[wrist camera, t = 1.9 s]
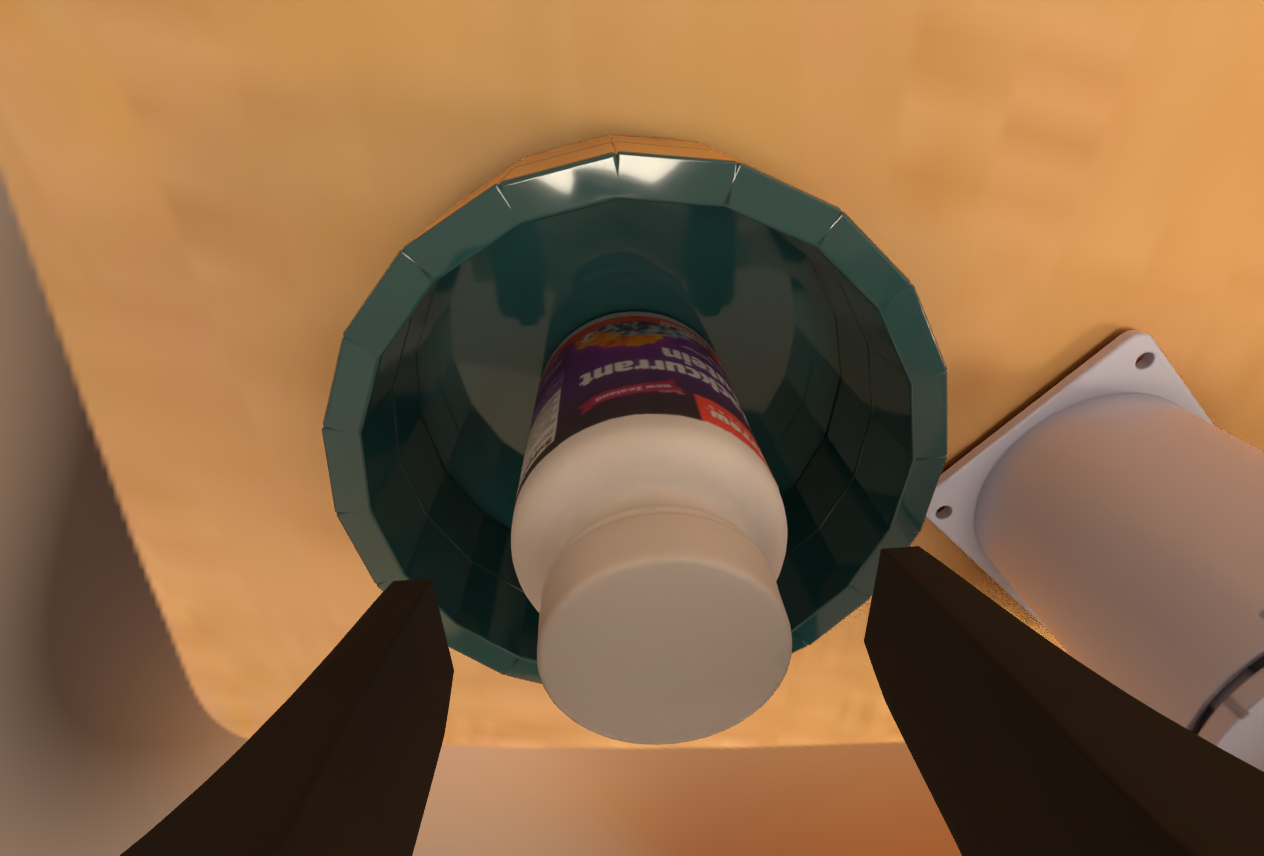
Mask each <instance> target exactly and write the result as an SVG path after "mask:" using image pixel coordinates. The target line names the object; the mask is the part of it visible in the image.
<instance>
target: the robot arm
mask: <svg viewBox="0 0 1264 856" xmlns="http://www.w3.org/2000/svg"><path fill="white" fill-rule="evenodd" d="M1142 354H1143V357H1142V359H1141V360H1140V361H1139V362H1137V363H1136V360H1137V359H1138V358H1139V356H1140V355H1142ZM942 506H946V507H945V508H944V509H943V510H941V511H939V512H936V511H937V510H938V509H939V508H940V507H942ZM926 517H927V518H928V519H929V520H930V521H931V522H932V523H933V524H934V525H935V526H936V527H937V528H938V529H939V530H941V531H942V532H943V533H944V534H945V535H946V536H947V537H948V538H949V539H950V540H951V541H952V542H953V543H954V544H956V545H957V546H958V547H959V548H960V549H961V550H962V551H963V552H964V553H965V554H966V555H967V556H968V557H970V558H971V559H972V560H973V561H974V562H975V563H976V564H977V565H978V566H979V567H980V568H981V569H982V570H984V571H985V572H986V573H987V574H988V575H989V576H990V577H991V578H992V579H993V580H994V581H995V582H996V583H998V584H999V585H1000V586H1001V587H1002V588H1003V589H1004V590H1005V591H1006V592H1007V593H1008V594H1009V595H1010V596H1011V597H1013V598H1014V599H1015V600H1016V601H1017V602H1018V603H1019V604H1020V605H1021V606H1022V607H1023V608H1024V609H1025V610H1027V611H1028V612H1029V613H1030V614H1031V615H1032V616H1033V617H1034V618H1035V619H1036V620H1037V621H1038V622H1039V623H1041V624H1042V625H1043V626H1044V627H1045V628H1046V629H1047V630H1048V631H1049V632H1050V633H1051V634H1052V635H1053V636H1054V637H1055V638H1056V639H1057V640H1058V641H1059V643H1060V644H1061V645H1062V646H1063V647H1064V649H1065V650H1066V651H1067V652H1068V653H1069V654H1070V655H1069V654H1067V653H1066V652H1064V651H1063V650H1061V649H1060V648H1058V647H1057V646H1055V645H1054V644H1052V643H1051V642H1050V641H1048V640H1047V639H1045V638H1044V637H1043V636H1041V635H1040V634H1038V633H1037V632H1035V631H1034V630H1033V629H1031V628H1030V627H1028V626H1027V625H1026V624H1024V623H1023V622H1021V621H1020V620H1019V619H1017V618H1016V617H1014V616H1013V615H1012V614H1010V613H1009V612H1008V611H1006V610H1005V609H1004V608H1002V607H1001V606H999V605H998V604H997V603H995V602H994V601H993V600H991V599H990V598H989V597H987V596H986V595H985V594H983V593H982V592H981V591H979V590H978V589H976V588H975V587H974V586H972V585H971V584H970V583H968V582H967V581H966V580H964V579H963V578H962V577H960V576H959V575H958V574H956V573H955V572H954V571H952V570H951V569H950V568H948V567H947V566H945V565H944V564H943V563H941V562H940V561H939V560H937V559H936V558H934V557H933V556H932V555H930V554H929V553H927V552H926V551H924V550H923V549H922V548H920V547H919V546H915V547H900V548H885V549H881V552H880V557H879V562H878V568H877V573H876V579H875V584H874V590H873V595H872V600H871V606H870V611H869V617H868V622H867V627H866V633H865V638H864V643H865V645H866V648H867V651H868V654H869V657H870V660H871V663H872V666H873V669H874V672H875V675H876V677H877V680H878V683H879V685H880V688H881V691H882V694H883V696H884V699H885V701H886V704H887V706H888V708H889V710H890V712H891V714H892V716H893V718H894V720H895V722H896V724H897V726H898V728H899V730H900V732H901V734H902V736H903V738H904V740H905V742H906V744H907V746H908V748H909V750H910V752H911V754H912V756H913V758H914V760H915V762H916V764H917V766H918V768H919V770H920V772H921V774H922V776H923V778H924V780H925V782H926V784H927V786H928V788H929V790H930V792H931V794H932V796H933V798H934V800H935V802H936V804H937V806H938V808H939V810H940V812H941V814H942V816H943V818H944V820H945V822H946V824H947V826H948V828H949V830H950V832H951V834H952V836H953V838H954V839H955V842H956V844H957V846H958V848H959V850H960V852H961V855H962V856H1264V452H1263V451H1261V450H1259V449H1257V448H1255V447H1254V446H1252V445H1250V444H1248V443H1246V442H1244V441H1242V440H1241V439H1239V438H1237V437H1235V436H1233V435H1231V434H1229V433H1228V432H1226V431H1224V430H1222V429H1220V428H1218V427H1216V426H1215V425H1214V424H1213V423H1212V421H1211V420H1210V418H1209V417H1208V416H1207V414H1206V413H1205V411H1204V410H1203V408H1202V407H1201V406H1200V404H1199V403H1198V401H1197V400H1196V399H1195V397H1194V396H1193V394H1192V393H1191V392H1190V390H1189V389H1188V387H1187V386H1186V384H1185V383H1184V382H1183V380H1182V379H1181V377H1180V376H1179V375H1178V373H1177V372H1176V370H1175V369H1174V368H1173V366H1172V365H1171V363H1170V362H1169V360H1168V359H1167V358H1166V356H1165V355H1164V353H1163V352H1162V351H1161V349H1160V348H1159V346H1158V345H1157V343H1156V342H1155V341H1154V339H1153V338H1152V337H1151V336H1150V335H1149V334H1147V333H1145V332H1142V331H1140V330H1134V329H1133V330H1129V331H1126V332H1124V333H1123V334H1121V335H1119V336H1118V337H1117V338H1115V339H1114V340H1113V341H1112V342H1110V343H1109V344H1108V345H1106V346H1105V347H1104V348H1103V349H1101V350H1100V351H1099V352H1097V353H1096V354H1095V355H1094V356H1092V357H1091V358H1090V359H1088V360H1087V361H1086V362H1085V363H1083V364H1082V365H1081V366H1080V367H1078V368H1077V369H1076V370H1074V371H1073V372H1072V373H1071V374H1069V375H1068V376H1067V377H1065V378H1064V379H1063V380H1062V381H1060V382H1059V383H1058V384H1056V385H1055V386H1054V387H1053V388H1051V389H1050V390H1049V391H1047V392H1046V393H1045V394H1044V395H1042V396H1041V397H1040V398H1038V399H1037V400H1036V401H1035V402H1033V403H1032V404H1031V405H1029V406H1028V407H1027V408H1026V409H1024V410H1023V411H1022V412H1020V413H1019V414H1018V415H1017V416H1015V417H1014V418H1013V419H1011V420H1010V421H1009V422H1008V423H1006V424H1005V425H1004V426H1002V427H1001V428H1000V429H999V430H997V431H996V432H995V433H993V434H992V435H991V436H990V437H988V438H987V439H986V440H984V441H983V442H982V443H981V444H979V445H978V446H977V447H975V448H974V449H973V450H972V451H970V452H969V453H968V454H966V455H965V456H964V457H963V458H961V459H960V460H959V461H957V462H956V463H955V464H954V465H952V466H951V467H950V468H948V469H947V470H946V471H945V472H943V473H942V474H941V475H940V478H939V481H938V484H937V486H936V489H935V492H934V495H933V497H932V500H931V503H930V506H929V509H928V511H927V514H926ZM453 673H454V669H453V664H452V660H451V656H450V652H449V648H448V643H447V639H446V635H445V631H444V627H443V623H442V618H441V614H440V610H439V606H438V602H437V597H436V593H435V589H434V585H433V581H432V578H430V579H415V580H399V581H393V582H392V583H391V584H390V585H389V586H388V587H387V588H386V589H385V590H384V592H383V593H382V594H381V595H380V596H379V597H378V598H377V599H376V601H375V602H374V603H373V604H372V605H371V606H370V608H369V609H368V610H367V611H366V612H365V613H364V614H363V616H362V617H361V618H360V619H359V620H358V621H357V623H356V624H355V625H354V626H353V627H352V628H351V630H350V631H349V632H348V633H347V634H346V635H345V636H344V638H343V639H342V640H341V641H340V642H339V643H338V645H337V646H336V647H335V648H334V649H333V650H332V651H331V653H330V654H329V655H328V656H327V657H326V658H325V659H324V660H323V661H322V662H321V664H320V665H319V666H318V667H317V668H316V669H315V670H314V671H313V672H312V674H311V675H310V676H309V677H308V678H307V679H306V680H305V681H304V682H303V683H302V685H301V686H300V687H299V688H298V689H297V690H296V691H295V692H294V693H293V694H292V695H291V697H290V698H289V699H288V700H287V701H286V702H285V703H284V704H283V705H282V706H281V707H280V708H279V709H278V710H277V711H276V712H275V713H274V714H273V715H272V716H271V717H270V718H269V719H268V720H267V721H266V722H265V723H264V724H263V725H262V726H261V727H260V728H259V730H258V731H257V732H256V733H255V734H254V735H253V736H252V737H251V738H250V739H249V740H248V741H247V742H246V743H245V744H244V745H243V746H242V747H241V748H240V749H239V750H238V751H237V752H236V753H235V754H234V755H233V756H232V757H231V758H230V759H229V760H228V761H227V762H225V763H224V764H223V765H222V766H221V767H220V768H219V769H218V770H217V771H216V772H215V773H214V774H213V775H212V776H211V777H210V778H209V779H208V780H207V781H205V782H204V783H203V784H202V785H201V786H200V787H199V788H198V789H197V790H196V791H194V792H193V794H191V795H190V796H189V797H188V798H187V799H185V800H184V801H183V802H182V803H181V804H180V805H179V806H178V807H177V808H175V809H174V811H172V812H171V813H170V814H169V815H168V816H166V817H165V818H164V819H163V820H162V821H161V822H160V823H158V824H157V825H156V826H155V827H154V828H153V829H151V830H150V831H149V832H148V833H147V834H146V835H145V836H143V837H142V838H141V839H140V840H138V841H137V842H136V843H135V844H133V845H132V846H131V847H130V848H129V849H127V850H126V851H125V852H124V853H122V854H121V855H120V856H412V854H413V850H414V846H415V843H416V839H417V836H418V832H419V828H420V824H421V821H422V817H423V813H424V809H425V806H426V802H427V798H428V795H429V791H430V787H431V783H432V780H433V776H434V772H435V769H436V765H437V761H438V757H439V753H440V750H441V746H442V742H443V738H444V734H445V728H446V721H447V715H448V709H449V702H450V695H451V687H452V680H453Z"/></svg>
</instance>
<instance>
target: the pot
mask: <svg viewBox="0 0 1264 856" xmlns="http://www.w3.org/2000/svg"><path fill="white" fill-rule="evenodd" d="M630 311H639V312H650V313H656V314H660V315H664V316H667V317H670V318H673V319H675V320H677V321H679V322H681V323H683V324H685V325H686V326H688V327H689V328H691V329H692V330H694V331H695V332H696V333H698V334H699V335H700V336H701V337H702V338H703V339H704V340H705V341H706V342H707V343H708V344H709V346H710V347H711V348H712V349H713V351H714V352H715V354H716V355H717V357H718V359H719V361H720V362H721V364H722V366H723V368H724V370H725V372H726V374H727V376H728V379H729V381H730V383H731V386H732V388H733V391H734V393H735V395H736V397H737V399H738V402H739V404H740V406H741V408H742V410H743V413H744V415H745V417H746V420H747V422H748V424H749V426H750V428H751V431H752V433H753V435H754V437H755V439H756V442H757V444H758V446H759V448H760V450H761V452H762V454H763V456H764V459H765V461H766V463H767V465H768V467H769V469H770V471H771V473H772V475H773V477H774V479H775V481H776V483H777V485H778V487H779V493H780V495H781V498H782V501H783V505H784V509H785V514H786V520H787V546H786V554H785V558H784V561H783V565H782V568H781V572H780V574H779V576H778V578H777V581H776V583H777V586H778V590H779V593H780V596H781V599H782V602H783V605H784V608H785V610H786V613H787V616H788V619H789V622H790V628H791V634H792V653H794V652H796V651H798V650H800V649H803V648H805V647H807V645H811V644H812V643H813V642H815V641H816V640H817V639H819V638H820V637H821V636H822V635H824V634H825V633H826V632H828V631H829V630H830V629H831V628H833V627H834V626H835V625H837V624H838V623H839V622H840V621H842V620H843V619H844V618H846V617H847V616H848V615H849V614H851V613H852V612H853V611H855V610H856V609H857V608H858V607H860V606H861V605H862V604H863V603H865V602H866V601H867V600H869V599H870V596H872V595H873V590H874V584H875V579H876V573H877V568H878V562H879V557H880V552H881V549H885V548H900V547H909V546H910V545H911V544H912V542H913V541H914V540H915V538H916V537H917V536H918V533H919V532H920V531H921V528H922V525H923V522H924V520H925V517H926V514H927V511H928V509H929V506H930V503H931V500H932V497H933V495H934V492H935V489H936V486H937V484H938V481H939V478H940V475H941V472H942V470H943V467H944V464H945V461H946V459H947V457H946V455H947V371H946V370H947V368H946V365H945V363H944V360H943V357H942V355H941V352H940V350H939V347H938V345H937V342H936V340H935V337H934V335H933V332H932V330H931V327H930V325H929V322H928V320H927V317H926V314H925V312H924V309H923V307H922V304H921V302H920V299H919V297H918V294H917V292H916V289H915V287H914V285H912V284H911V282H910V280H909V279H908V278H907V277H906V276H905V275H904V274H903V273H902V272H901V271H900V269H899V268H898V267H897V266H896V265H895V264H894V263H893V262H892V261H891V260H890V259H889V258H888V257H887V256H886V255H885V254H884V253H883V252H882V251H881V250H880V249H879V248H878V246H877V245H876V244H875V243H874V242H873V241H872V240H871V239H870V238H869V237H868V236H867V235H866V234H865V233H864V232H863V231H862V230H861V229H860V228H859V227H858V226H857V225H856V223H855V222H854V221H853V220H852V219H851V218H850V217H849V216H848V215H847V214H846V213H845V212H843V211H841V209H840V208H839V207H836V206H834V205H832V204H830V203H828V202H826V201H824V200H822V199H820V198H818V197H815V196H813V195H811V194H809V193H807V192H805V191H803V190H801V189H799V188H796V187H794V186H792V185H790V184H788V183H786V182H784V181H782V180H780V179H778V178H775V177H773V176H771V175H769V174H767V173H765V172H763V171H760V170H758V169H756V168H754V167H752V166H750V165H748V164H745V163H743V162H741V161H739V160H737V159H735V158H732V157H730V156H728V155H726V154H724V153H722V152H720V151H717V150H715V149H713V148H711V147H709V146H707V145H705V144H700V143H698V142H690V141H678V140H667V139H660V138H647V137H632V136H620V135H612V136H611V137H610V136H603V137H599V138H596V139H592V140H588V141H584V142H579V143H575V144H571V145H568V146H564V147H561V148H557V149H554V150H550V151H546V152H543V153H539V154H535V155H531V156H527V157H525V158H524V159H523V160H519V161H517V162H516V163H514V164H513V165H512V166H510V167H509V168H507V169H506V170H504V171H503V172H501V173H500V174H499V175H497V176H496V177H494V178H493V179H491V180H490V181H488V182H487V183H485V184H484V185H482V186H481V187H480V188H478V189H477V190H475V191H474V192H473V193H471V194H470V195H468V196H467V197H465V198H464V199H462V200H461V201H460V202H458V203H457V204H455V205H454V206H453V207H451V208H450V209H449V210H448V211H446V212H445V213H444V214H443V215H442V216H440V217H439V218H438V219H437V220H436V221H434V222H433V223H432V224H431V225H429V226H428V227H427V228H426V229H424V230H423V231H422V232H421V233H420V234H418V235H417V236H416V237H415V238H414V239H412V240H411V241H410V242H409V243H408V244H406V245H405V246H404V247H403V248H402V249H401V250H400V251H399V253H398V254H397V255H396V257H395V258H394V260H393V261H392V263H391V264H390V266H389V267H388V269H387V270H386V272H385V273H384V274H383V276H382V277H381V279H380V280H379V282H378V283H377V285H376V286H375V288H374V289H373V290H372V292H371V293H370V295H369V296H368V298H367V299H366V301H365V302H364V304H363V305H362V306H361V308H360V309H359V311H358V312H357V314H356V315H355V317H354V318H353V320H352V321H351V323H350V324H349V325H348V327H347V328H346V330H345V331H344V333H343V336H344V337H343V338H342V340H341V344H340V349H339V353H338V358H337V362H336V367H335V371H334V376H333V380H332V385H331V389H330V394H329V398H328V403H327V407H326V412H325V416H324V421H323V425H324V427H323V428H322V433H323V439H324V445H325V451H326V457H327V464H328V470H329V476H330V482H331V488H332V494H333V501H334V507H335V512H336V513H337V517H338V518H339V520H340V522H341V524H342V525H343V527H344V529H345V531H346V532H347V534H348V536H349V538H350V540H351V541H352V543H353V545H354V547H355V548H356V550H357V552H358V554H359V556H360V557H361V559H362V561H363V563H364V564H365V566H366V568H367V570H368V571H369V573H370V575H371V577H372V579H373V580H374V582H375V583H376V584H377V586H378V587H379V588H380V589H381V590H382V591H383V592H384V590H385V589H386V588H387V587H388V586H389V585H390V584H391V583H392V582H393V581H399V580H415V579H430V578H432V581H433V585H434V589H435V593H436V597H437V602H438V606H439V610H440V614H441V618H442V623H443V627H444V631H445V635H446V639H447V643H448V647H450V648H452V649H454V650H456V651H458V652H460V653H462V654H464V655H466V656H468V657H470V658H472V659H474V660H476V661H478V662H480V663H481V664H483V665H485V666H487V667H489V668H491V669H493V670H495V671H497V672H499V673H501V674H503V675H505V674H506V675H507V676H510V677H515V678H519V679H523V680H527V681H531V682H536V683H540V684H542V681H541V678H540V675H539V671H538V665H537V643H538V625H539V614H540V613H539V612H538V611H537V610H536V609H535V607H534V606H533V605H532V603H531V602H530V601H529V599H528V598H527V596H526V594H525V593H524V591H523V589H522V587H521V585H520V583H519V580H518V577H517V574H516V571H515V568H514V564H513V561H512V552H511V528H512V520H513V513H514V507H515V500H516V496H517V491H518V487H519V482H520V475H521V471H522V466H523V461H524V455H525V451H526V447H527V441H528V436H529V431H530V427H531V422H532V417H533V412H534V407H535V402H536V397H537V392H538V388H539V384H540V381H541V378H542V375H543V372H544V369H545V367H546V365H547V362H548V361H549V359H550V357H551V356H552V354H553V352H554V351H555V350H556V349H557V347H558V346H559V345H560V344H561V343H562V341H563V340H564V339H565V338H567V337H568V336H569V335H570V334H571V333H572V332H574V331H575V330H576V329H578V328H579V327H581V326H583V325H584V324H586V323H588V322H590V321H592V320H594V319H597V318H599V317H602V316H605V315H609V314H613V313H619V312H630Z"/></svg>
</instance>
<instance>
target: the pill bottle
mask: <svg viewBox="0 0 1264 856" xmlns="http://www.w3.org/2000/svg"><path fill="white" fill-rule="evenodd" d="M786 546H787V520H786V514H785V509H784V505H783V501H782V498H781V495H780V493H779V487H778V485H777V483H776V481H775V479H774V477H773V475H772V473H771V471H770V469H769V467H768V465H767V463H766V461H765V459H764V456H763V454H762V452H761V450H760V448H759V446H758V444H757V442H756V439H755V437H754V435H753V433H752V431H751V428H750V426H749V424H748V422H747V420H746V417H745V415H744V413H743V410H742V408H741V406H740V404H739V402H738V399H737V397H736V395H735V393H734V391H733V388H732V386H731V383H730V381H729V379H728V376H727V374H726V372H725V370H724V368H723V366H722V364H721V362H720V361H719V359H718V357H717V355H716V354H715V352H714V351H713V349H712V348H711V347H710V346H709V344H708V343H707V342H706V341H705V340H704V339H703V338H702V337H701V336H700V335H699V334H698V333H696V332H695V331H694V330H692V329H691V328H689V327H688V326H686V325H685V324H683V323H681V322H679V321H677V320H675V319H673V318H670V317H667V316H664V315H660V314H656V313H650V312H639V311H630V312H619V313H613V314H609V315H605V316H602V317H599V318H597V319H594V320H592V321H590V322H588V323H586V324H584V325H583V326H581V327H579V328H578V329H576V330H575V331H574V332H572V333H571V334H570V335H569V336H568V337H567V338H565V339H564V340H563V341H562V343H561V344H560V345H559V346H558V347H557V349H556V350H555V351H554V352H553V354H552V356H551V357H550V359H549V361H548V362H547V365H546V367H545V369H544V372H543V375H542V378H541V381H540V384H539V388H538V392H537V397H536V402H535V407H534V412H533V417H532V422H531V427H530V431H529V436H528V441H527V447H526V451H525V455H524V461H523V466H522V471H521V475H520V482H519V487H518V491H517V496H516V500H515V507H514V513H513V520H512V528H511V552H512V561H513V564H514V568H515V571H516V574H517V577H518V580H519V583H520V585H521V587H522V589H523V591H524V593H525V594H526V596H527V598H528V599H529V601H530V602H531V603H532V605H533V606H534V607H535V609H536V610H537V611H538V612H539V613H540V614H539V625H538V643H537V665H538V671H539V675H540V678H541V681H542V684H543V686H544V688H545V690H546V692H547V693H548V695H549V696H550V698H551V699H552V701H553V703H554V704H555V705H556V706H557V707H558V708H559V709H560V710H561V711H562V712H564V713H565V714H566V715H567V716H568V717H569V718H571V719H572V720H573V721H574V722H576V723H578V724H579V725H581V726H583V727H584V728H586V729H588V730H590V731H593V732H595V733H597V734H600V735H602V736H605V737H608V738H611V739H615V740H619V741H624V742H629V743H637V744H675V743H681V742H687V741H693V740H697V739H701V738H705V737H708V736H711V735H713V734H716V733H719V732H721V731H724V730H726V729H728V728H730V727H732V726H734V725H736V724H738V723H740V722H741V721H743V720H744V719H746V718H747V717H749V716H750V715H752V714H753V713H754V712H756V711H757V710H758V709H759V708H760V707H762V706H763V705H764V704H765V703H766V702H767V701H768V700H769V698H770V697H771V696H772V695H773V693H774V692H775V691H776V689H777V688H778V687H779V685H780V684H781V682H782V680H783V678H784V676H785V674H786V672H787V670H788V666H789V662H790V658H791V653H792V634H791V628H790V622H789V619H788V616H787V613H786V610H785V608H784V605H783V602H782V599H781V596H780V593H779V590H778V586H777V583H776V581H777V578H778V576H779V574H780V572H781V568H782V565H783V561H784V558H785V554H786Z"/></svg>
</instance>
